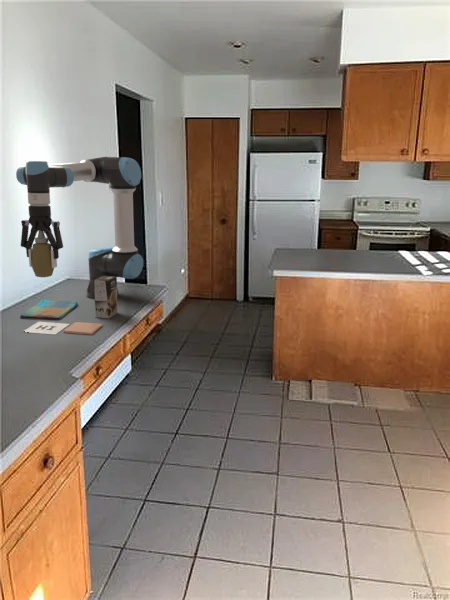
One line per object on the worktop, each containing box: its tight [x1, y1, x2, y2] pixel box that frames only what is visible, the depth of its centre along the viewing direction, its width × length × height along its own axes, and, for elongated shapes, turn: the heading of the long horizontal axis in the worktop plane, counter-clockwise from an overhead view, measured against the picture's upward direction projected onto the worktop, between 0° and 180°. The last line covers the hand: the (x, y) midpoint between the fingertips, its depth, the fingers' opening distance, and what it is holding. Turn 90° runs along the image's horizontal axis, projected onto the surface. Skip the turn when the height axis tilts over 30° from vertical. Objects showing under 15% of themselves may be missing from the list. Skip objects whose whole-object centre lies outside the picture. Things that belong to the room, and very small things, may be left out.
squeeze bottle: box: [31, 230, 55, 278], centre depth 187 cm, size 8×8×18 cm
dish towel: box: [19, 299, 79, 321], centre depth 216 cm, size 17×23×2 cm
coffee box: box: [94, 276, 118, 319], centre depth 211 cm, size 9×6×16 cm
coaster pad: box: [63, 321, 103, 335], centre depth 194 cm, size 11×11×1 cm
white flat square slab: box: [23, 321, 70, 336], centre depth 194 cm, size 13×13×1 cm
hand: (43, 266), depth 188 cm, fingers closed on squeeze bottle, 8 cm apart
